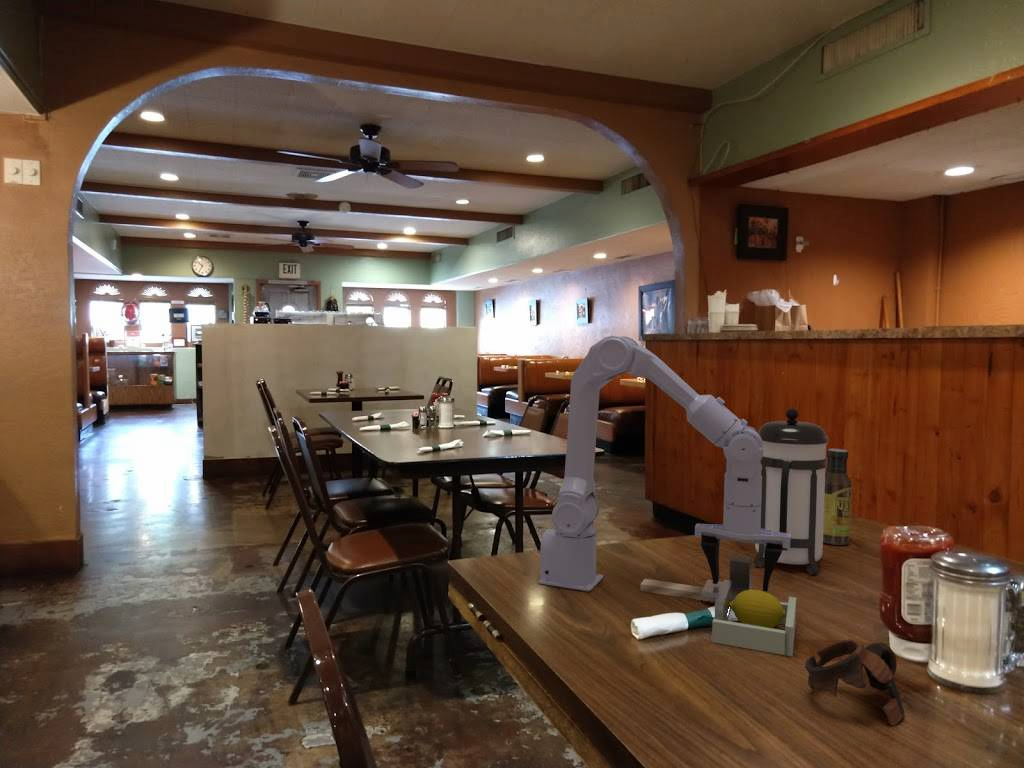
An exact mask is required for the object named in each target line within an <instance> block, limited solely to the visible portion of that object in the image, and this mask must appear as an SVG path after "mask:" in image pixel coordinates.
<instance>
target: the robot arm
mask: <svg viewBox="0 0 1024 768" xmlns="http://www.w3.org/2000/svg"><path fill="white" fill-rule="evenodd" d="M626 373H628V375H629V376H633V377H638V378H643V379H648V380H649V381H651V382H652V384H654V385H656V386H657V387H658V388H660V390H662V391H663V392H664V393H665V394H667V395H668V396H669V397H671V399H673V400H674V401H675V402H676V403H677V404H679V405H680V406H681V407H683V408H684V409H685V412H686V421H687V422H688V423H689V424H690V425H691V426H692V427H694V428H695V430H697V431H698V432H699V433H700V434H702V436H704V438H706V439H707V440H708V441H710V442H711V443H712V444H714V445H713V446H715V447H717V448H718V447H719V448H722V449H723V454H724V457H725V460H726V468H725V469H726V470H725V471H726V472H725V473H724V483H723V484H724V485H723V491H724V492H723V524H719V523H718V524H717V523H715V524H714V523H710V524H709V523H699V522H698V523H696V524H695V526H694V538H696V539H701V540H700V546H701V549H702V551H703V553H704V555H705V558H706V560H707V563H708V566H709V569H710V573H711V578H712V579H711V580H713V584H718V581H720V563H719V562H720V561H719V560H720V559H719V558H720V545H721V544H720V542H721V541H720V540H724V541H731V542H733V541H734V542H740V543H750V544H755V543H756V544H764V545H766V547H765V550H764V557H763V559H764V558H765V564H764V567H763V568H764V570H763V571H764V573H763V581H762V591H763V592H768V591H769V584H770V581H771V576H772V573H773V571H774V569H775V567H776V564H777V563H778V562H777V561H778V559H779V557H780V555H781V553H782V548H788V549H789V548H790V534H789V533H782V532H776V531H771V530H766V529H761V499H762V475H761V474H760V472H761V470H762V465H761V463H760V460H761V459H762V457H763V454H764V450H763V442H762V439H761V437H760V435H759V434H758V432H757V430H756V428H754V427H752V426H748V421H747V420H746V419H745V418H742V419H740V418H738V416H737V415H735V414H734V413H733V412H732V411H731V410H730V409H728V408H727V407H726V406H725V405H724V404H725V400H724V399H723V398H721V397H720V396H718V397H717V398H715V397H714V396H713V395H712V394H698V392H697V391H696V390H694V389H693V388H692V387H691V386H690V385H689V384H688V383H687V382H685V381H684V380H683V378H681V377H680V375H678V374H677V373H676V372H675V371H674V370H673V369H672V368H670V367H669V366H668V365H667V364H666V363H665V362H664V361H663V360H662V359H660V358H659V357H658V356H657V355H656V354H654V353H653V352H651V351H650V350H649V349H647V347H644V346H643V345H639V344H638V342H637V341H636V340H634V339H633V338H631V337H628V336H618V335H609V336H608V335H607V336H606V337H604V338H602V339H600V340H599V341H597V342H596V343H594V344H593V345H591V346H590V348H589V350H588V352H587V354H586V356H585V357H584V359H583V360H582V361H581V362H580V364H579V365H578V367H576V370H575V371H574V372H573V374H572V377H571V381H570V392H569V393H570V395H569V406H568V407H569V408H568V422H567V423H568V424H567V435H566V436H567V437H566V448H565V465H564V478H563V481H562V483H561V485H560V488H559V492H558V498H557V502H556V504H555V505H554V507H553V510H552V513H551V521H552V524H553V526H554V527H555V529H554V528H547V529H546V530H545V531H544V533H543V534H542V536H541V542H540V552H539V553H540V565H539V567H540V570H539V572H540V573H539V576H540V577H539V578H540V579H539V580H538V584H541V585H548V586H554V587H559V588H565V589H571V590H578V591H583V592H584V591H585V592H591V591H592V590H593V589H594V588H595V587H596V586H597V585H598V584H599V583H600V581H602V579H603V578H604V575H603V574H600V573H599V574H598V573H597V528H596V527H595V524H594V521H595V520H596V519H597V517H598V515H599V512H600V504H599V501H598V498H597V495H596V482H595V478H594V474H595V473H594V472H595V460H596V459H595V457H596V447H597V446H596V443H597V441H596V440H597V433H598V431H597V430H598V418H599V403H600V391H601V389H602V388H603V387H604V386H607V384H609V383H610V382H611V381H612V380H613V379H615V378H616V377H618V376H621V375H624V374H626Z"/></svg>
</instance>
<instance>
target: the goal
mask: <svg viewBox="0 0 1024 768" xmlns="http://www.w3.org/2000/svg"><path fill="white" fill-rule="evenodd" d="M787 601H788V602H784V601H779V602H780V603H781V605H782V607H783V610H784V611H785V612H786V616H785V617H784V618H783V619H782V620H781V622H780V623H779V624H780V625H785V627H784V628H785V629H784V630H783V629H779V628H766V627H760V626H754V625H748V624H742V623H740V622H735V621H729V620H727V621H724V620H718V619H715V618H713V619H712V623H711V628H712V630H711V632H712V633H711V643H715V644H719V645H720V644H721V645H727V646H731V647H737V648H741V649H742V648H744V649H749V650H753V651H759V652H765V653H771V654H776V655H782V656H786V657H793V656H794V644H795V643H794V642H795V635H796V634H795V633H796V624H797V623H796V622H797V621H796V620H797V619H796V615H797V597H794V596H788V600H787ZM779 624H778V625H779Z"/></svg>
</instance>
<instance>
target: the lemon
mask: <svg viewBox="0 0 1024 768" xmlns="http://www.w3.org/2000/svg"><path fill="white" fill-rule="evenodd" d="M780 602H781V601H780V600H779V599H778V598H777V597H776V596H775V595H773V594H771V593H769V592H767V591H763V590H758V589H751V590H746V591H743V592H741V593H739V594H738V595H737V596H736V598H735V599H734V600H733V601H732V602H730V603H729V607H730V609H731V610H730V611H732V613H733V614H734V616H735V619H737V622H738V623H742V624H748V625H754V626H760V627H766V628H772V629H775V627H777V626H778V625H779V623H780V622H781V620H782V619H783V618H784V617H785V616H786V612H785V611H784V610H783V607H782V605H781V603H780Z"/></svg>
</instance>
